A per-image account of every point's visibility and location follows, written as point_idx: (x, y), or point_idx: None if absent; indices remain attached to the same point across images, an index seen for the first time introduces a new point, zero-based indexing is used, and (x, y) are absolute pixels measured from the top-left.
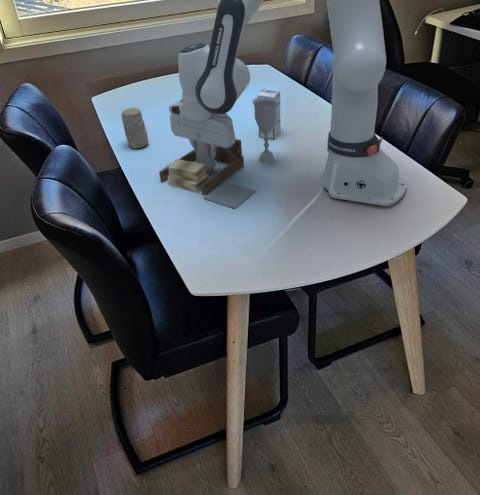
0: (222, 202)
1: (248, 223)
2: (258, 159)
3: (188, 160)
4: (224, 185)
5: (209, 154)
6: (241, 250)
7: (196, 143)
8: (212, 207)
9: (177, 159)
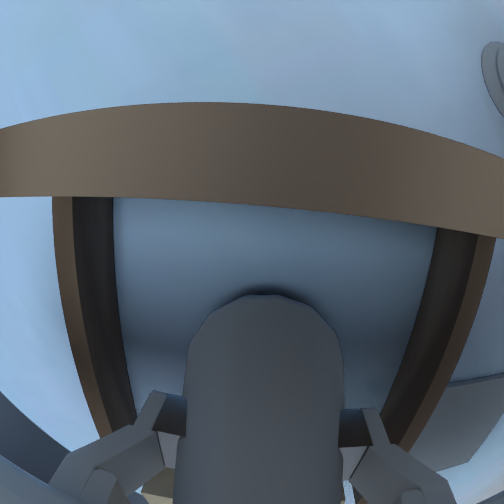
0: (433, 470)
1: (491, 464)
2: (487, 86)
3: (104, 322)
4: None
5: None
6: (473, 499)
7: (131, 461)
8: None
9: (143, 493)
